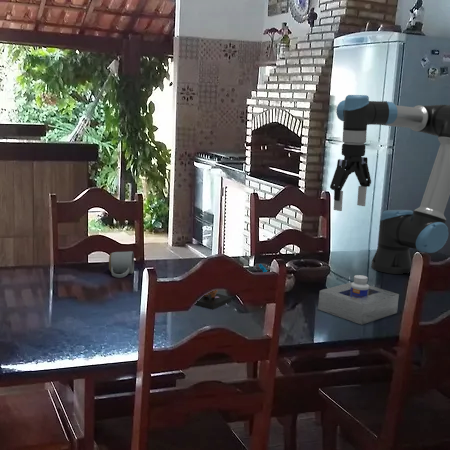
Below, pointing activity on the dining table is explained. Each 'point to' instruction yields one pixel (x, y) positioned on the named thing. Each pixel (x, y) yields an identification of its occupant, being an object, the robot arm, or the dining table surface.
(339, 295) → the white flat square box
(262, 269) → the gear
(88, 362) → the dining table surface
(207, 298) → the figurine
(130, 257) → the ceramic mug
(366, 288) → the pill bottle
